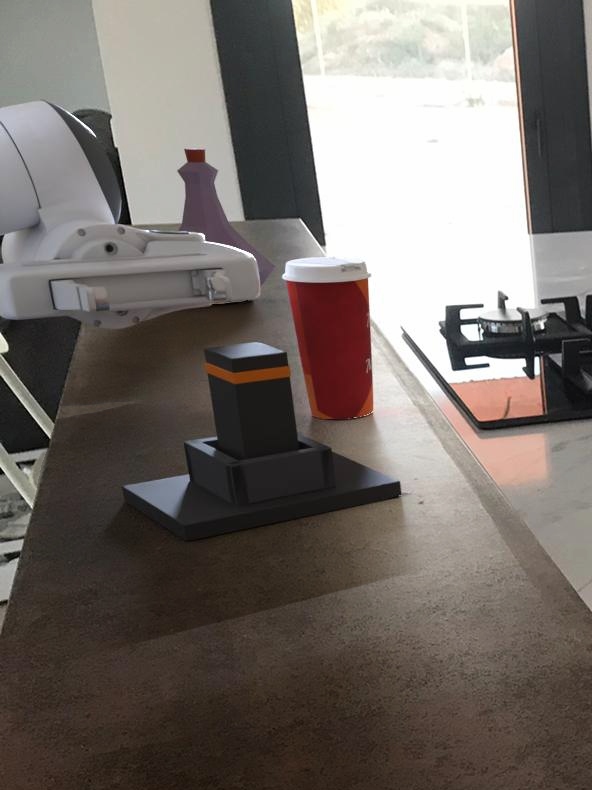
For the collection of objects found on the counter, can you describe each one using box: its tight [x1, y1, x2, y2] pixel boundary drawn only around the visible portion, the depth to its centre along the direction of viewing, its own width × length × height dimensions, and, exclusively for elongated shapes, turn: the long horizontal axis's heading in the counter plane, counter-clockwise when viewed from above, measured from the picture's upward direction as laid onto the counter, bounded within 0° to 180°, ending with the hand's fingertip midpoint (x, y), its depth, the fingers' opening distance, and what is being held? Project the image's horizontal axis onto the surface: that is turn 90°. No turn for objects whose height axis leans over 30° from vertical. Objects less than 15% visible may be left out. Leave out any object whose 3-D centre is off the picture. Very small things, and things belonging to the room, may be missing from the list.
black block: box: [203, 341, 299, 461], centre depth 94 cm, size 4×5×10 cm
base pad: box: [121, 432, 402, 542], centre depth 96 cm, size 16×12×4 cm
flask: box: [176, 147, 276, 288], centre depth 176 cm, size 16×16×20 cm
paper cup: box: [281, 256, 374, 420], centre depth 119 cm, size 8×8×14 cm
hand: (162, 294), depth 101 cm, fingers open, 8 cm apart
